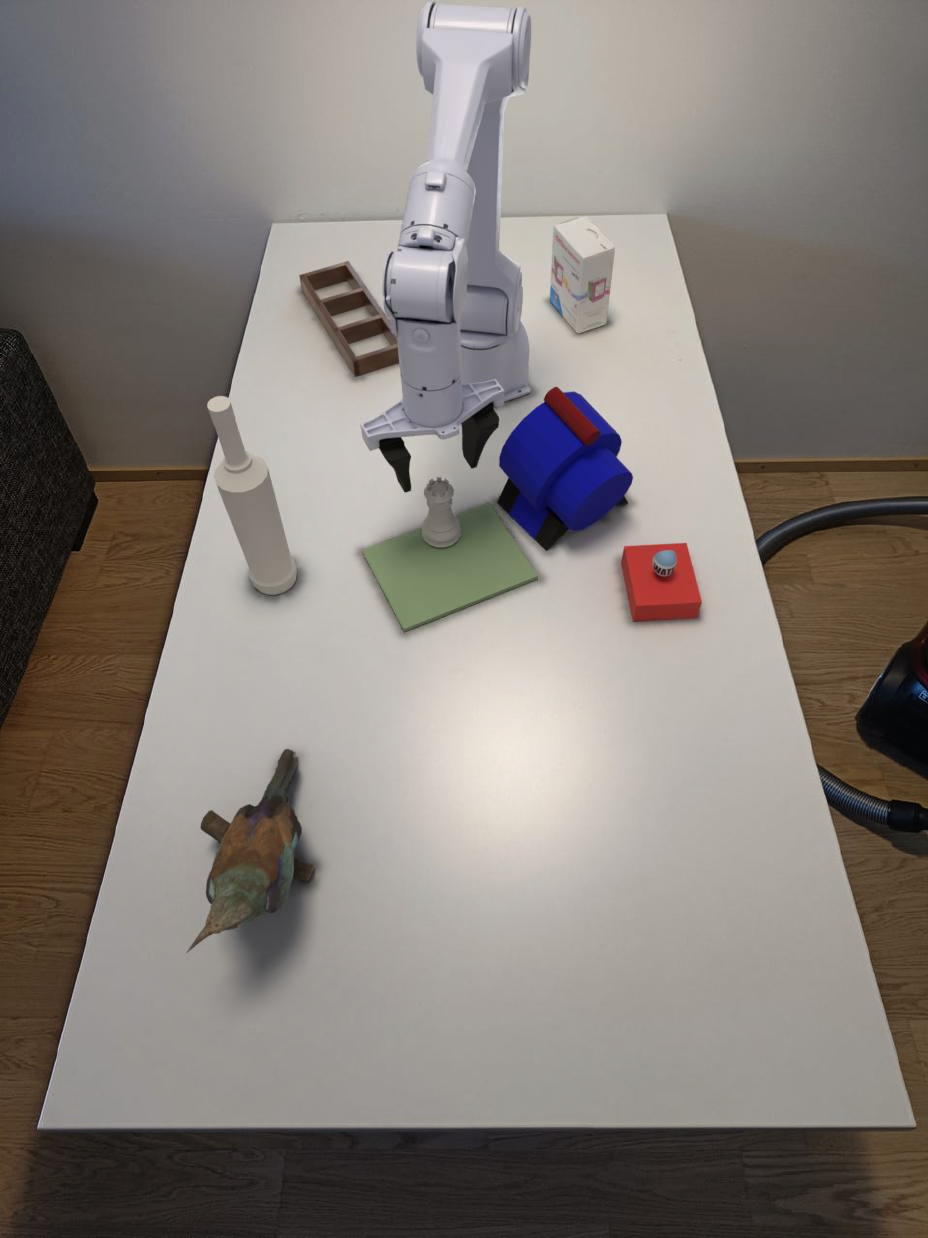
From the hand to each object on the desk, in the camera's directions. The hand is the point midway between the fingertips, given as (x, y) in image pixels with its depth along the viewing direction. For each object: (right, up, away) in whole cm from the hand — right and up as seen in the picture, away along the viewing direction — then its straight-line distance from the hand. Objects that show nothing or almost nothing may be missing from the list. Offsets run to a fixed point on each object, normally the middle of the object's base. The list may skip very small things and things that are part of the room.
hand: (437, 473), depth 93 cm
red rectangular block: (+24, -12, +3) cm, 27 cm away
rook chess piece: (0, -6, +7) cm, 9 cm away
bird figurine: (-15, -37, -14) cm, 43 cm away
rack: (-13, +26, +30) cm, 42 cm away
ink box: (+19, +27, +30) cm, 45 cm away
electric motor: (+15, -2, +10) cm, 18 cm away
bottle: (-18, -11, +5) cm, 22 cm away
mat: (+1, -9, +5) cm, 11 cm away
